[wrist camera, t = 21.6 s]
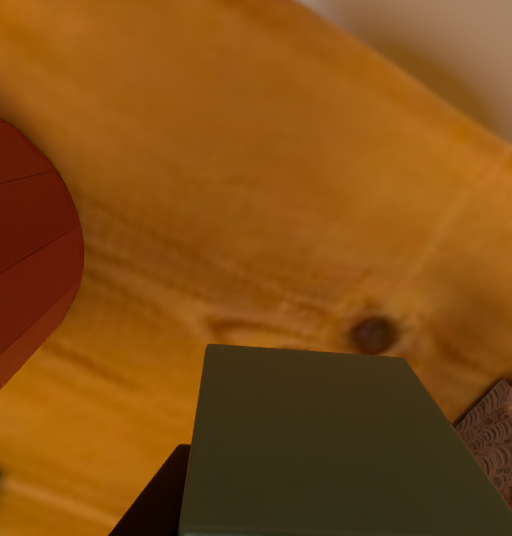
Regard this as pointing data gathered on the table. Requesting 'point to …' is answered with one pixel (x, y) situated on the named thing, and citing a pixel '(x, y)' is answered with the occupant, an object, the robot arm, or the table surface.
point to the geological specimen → (492, 436)
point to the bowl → (33, 250)
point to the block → (328, 451)
